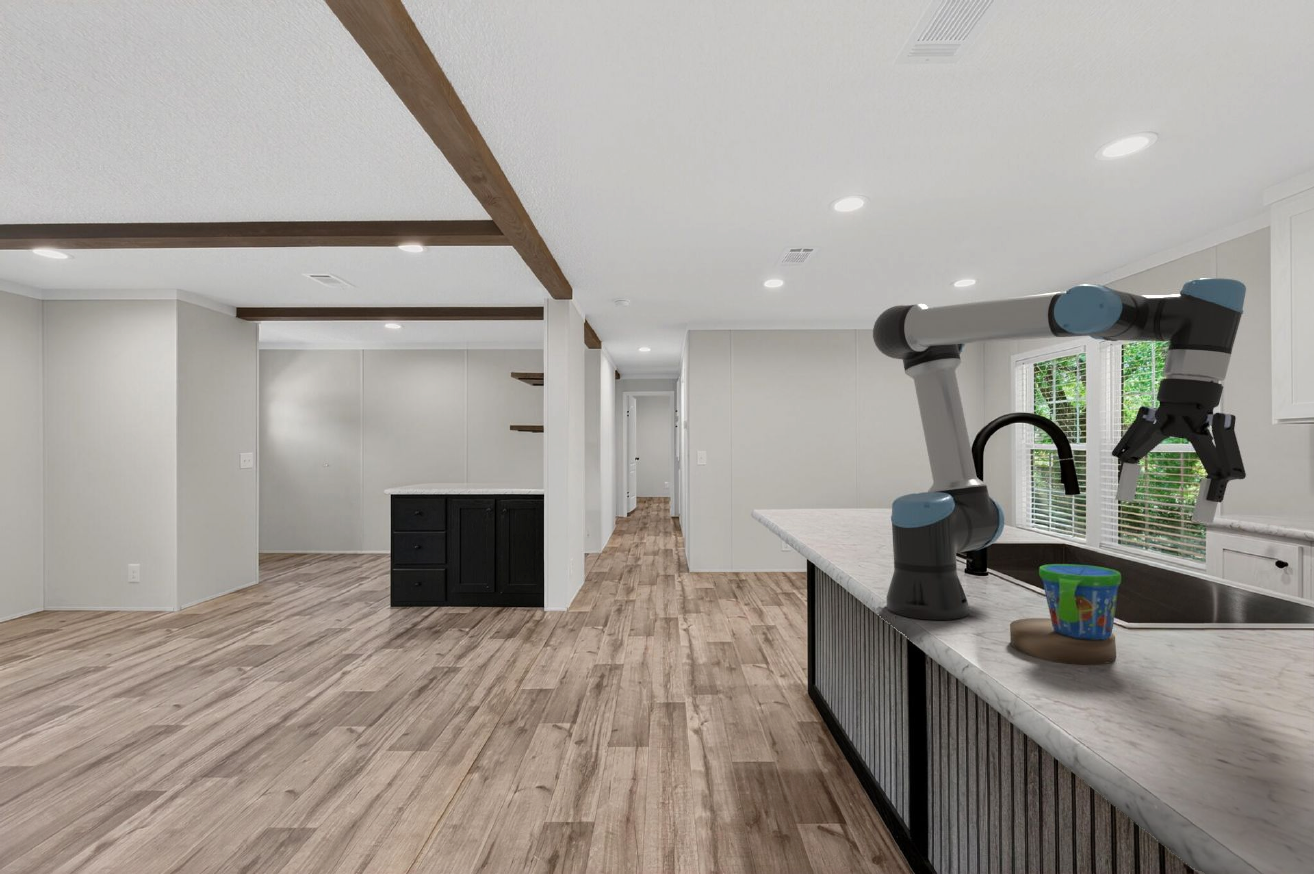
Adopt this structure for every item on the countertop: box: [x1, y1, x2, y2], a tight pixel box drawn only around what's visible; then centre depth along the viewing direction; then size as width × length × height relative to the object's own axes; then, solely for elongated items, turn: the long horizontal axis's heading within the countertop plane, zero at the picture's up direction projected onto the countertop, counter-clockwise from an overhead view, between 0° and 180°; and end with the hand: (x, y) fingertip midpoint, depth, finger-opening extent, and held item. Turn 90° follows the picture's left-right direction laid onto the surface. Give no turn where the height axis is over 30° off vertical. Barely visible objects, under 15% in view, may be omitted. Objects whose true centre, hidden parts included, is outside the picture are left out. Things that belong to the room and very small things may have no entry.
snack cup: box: [1038, 563, 1122, 640], centre depth 93 cm, size 16×10×10 cm
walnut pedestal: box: [1009, 617, 1117, 666], centre depth 96 cm, size 14×14×3 cm
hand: (1160, 510), depth 96 cm, fingers open, 13 cm apart
